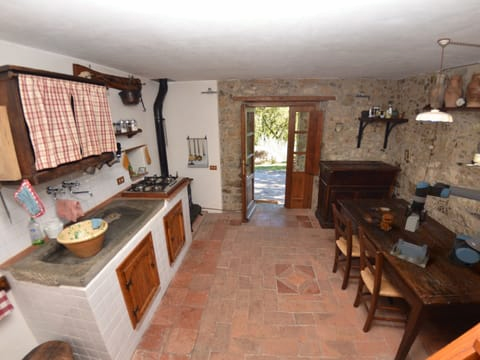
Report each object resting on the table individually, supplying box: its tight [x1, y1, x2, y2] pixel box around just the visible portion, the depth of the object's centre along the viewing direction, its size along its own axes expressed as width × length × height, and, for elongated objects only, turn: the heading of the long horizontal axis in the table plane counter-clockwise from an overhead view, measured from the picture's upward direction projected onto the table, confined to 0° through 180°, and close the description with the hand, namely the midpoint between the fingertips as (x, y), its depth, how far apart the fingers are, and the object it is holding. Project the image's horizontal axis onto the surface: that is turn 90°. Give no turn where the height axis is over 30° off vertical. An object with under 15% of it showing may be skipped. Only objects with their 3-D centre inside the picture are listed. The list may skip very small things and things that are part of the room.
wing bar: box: [404, 212, 419, 233], centre depth 175 cm, size 6×14×10 cm, turn 129°
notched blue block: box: [397, 238, 428, 262], centre depth 176 cm, size 18×7×13 cm, turn 49°
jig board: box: [389, 242, 430, 269], centre depth 177 cm, size 23×16×6 cm
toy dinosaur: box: [379, 213, 394, 232], centre depth 216 cm, size 11×11×18 cm
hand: (412, 226), depth 176 cm, fingers closed on wing bar, 6 cm apart
